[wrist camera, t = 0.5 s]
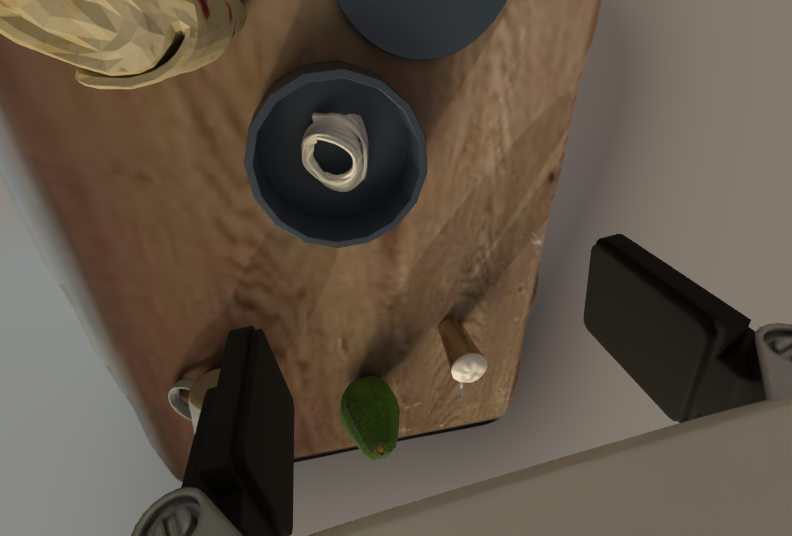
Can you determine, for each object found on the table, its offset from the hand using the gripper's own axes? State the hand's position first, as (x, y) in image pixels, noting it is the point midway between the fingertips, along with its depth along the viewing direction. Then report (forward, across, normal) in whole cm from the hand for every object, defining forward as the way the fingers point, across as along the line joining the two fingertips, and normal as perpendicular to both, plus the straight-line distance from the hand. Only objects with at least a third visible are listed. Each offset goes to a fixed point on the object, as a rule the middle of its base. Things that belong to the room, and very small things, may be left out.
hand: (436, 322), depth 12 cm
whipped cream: (+33, +1, +4) cm, 33 cm away
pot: (+33, +1, +4) cm, 34 cm away
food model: (+33, +10, -10) cm, 36 cm away
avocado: (+34, +5, +38) cm, 51 cm away
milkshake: (+34, -8, +31) cm, 47 cm away
